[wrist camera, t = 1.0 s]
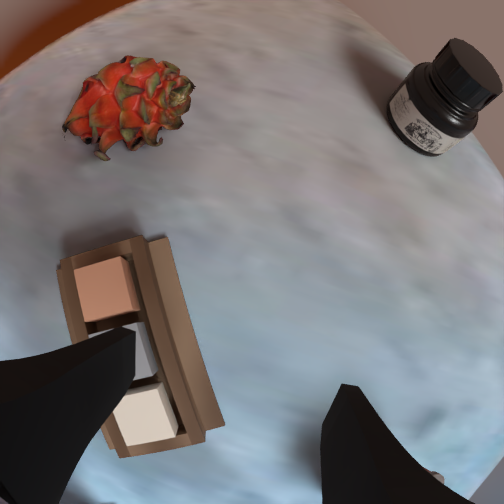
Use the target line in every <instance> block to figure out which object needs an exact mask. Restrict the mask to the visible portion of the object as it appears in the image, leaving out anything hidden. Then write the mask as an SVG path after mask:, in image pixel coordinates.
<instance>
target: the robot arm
mask: <svg viewBox="0 0 504 504" xmlns="http://www.w3.org/2000/svg"><path fill="white" fill-rule="evenodd" d="M135 376H136V331H133V330H131V329H128V328H125V327H122V326H120V327H117V328H114V329H112V330H109V331H106V332H104V333H101V334H99V335H96V336H94V337H91V338H89V339H86V340H84V341H81V342H78V343H76V344H73V345H70V346H67V347H64V348H61V349H58V350H55V351H52V352H48V353H44V354H40V355H36V356H32V357H27V358H21V359H14V360H5V361H0V504H59V501H60V499H61V497H62V494H63V492H64V490H65V488H66V485H67V483H68V481H69V479H70V477H71V475H72V473H73V471H74V469H75V467H76V465H77V463H78V462H79V460H80V458H81V456H82V454H83V453H84V451H85V449H86V447H87V446H88V444H89V443H90V441H91V440H92V438H93V437H94V435H95V434H96V433H97V431H98V430H99V429H100V428H101V426H102V425H103V424H104V422H105V421H106V420H107V418H108V417H109V416H110V414H111V413H112V412H113V411H114V409H115V408H116V407H117V405H118V404H119V403H120V401H121V400H122V399H123V397H124V396H125V394H126V392H127V390H128V389H129V387H130V385H131V383H132V381H133V379H134V377H135ZM320 455H321V476H322V504H475V503H473V502H471V501H469V500H467V499H465V498H464V497H462V496H460V495H459V494H457V493H456V492H454V491H452V490H451V489H450V488H448V487H447V486H445V485H444V484H443V483H441V482H440V481H439V480H437V479H436V478H435V477H434V476H432V475H431V474H430V473H429V472H428V471H427V470H425V469H424V468H423V467H422V466H421V465H420V464H419V463H418V462H417V461H416V460H415V459H414V458H413V457H412V456H411V455H410V454H409V453H408V452H407V451H406V450H405V448H404V447H403V446H402V445H401V444H400V443H399V441H398V440H397V439H396V438H395V437H394V435H393V434H392V433H391V431H390V430H389V429H388V428H387V426H386V425H385V424H384V422H383V421H382V419H381V418H380V417H379V415H378V414H377V412H376V411H375V410H374V408H373V407H372V405H371V404H370V402H369V401H368V399H367V398H366V396H365V395H364V394H363V392H362V391H361V389H360V388H359V387H358V386H353V385H347V384H341V386H340V388H339V390H338V393H337V395H336V397H335V399H334V401H333V403H332V405H331V407H330V409H329V412H328V414H327V416H326V418H325V420H324V422H323V424H322V433H321V445H320Z"/></svg>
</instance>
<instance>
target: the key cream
mask: <svg viewBox="0 0 504 504" xmlns="http://www.w3.org/2000/svg"><path fill="white" fill-rule="evenodd" d="M113 413H114V416H115V418H116V421H117V424H118V426H119V429H120V431H121V433H122V436H123V438H124V441H125V443H126V445H127V446H131V445H137V444H143V443H149V442H154V441H159V440H164V439H169V438H174V437H176V433H177V430H178V423H177V420H176V418H175V415H174V413H173V410H172V407H171V404H170V402H169V399H168V396H167V393H166V391H165V388H164V385H163V382H159V383H155V384H150V385H146V386H142V387H137V388H133V389H128V390H127V392H126V394H125V396H124V397H123V399H122V400H121V401H120V403H119V404H118V405H117V407H116V408H115V409H114V411H113Z"/></svg>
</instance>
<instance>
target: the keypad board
mask: <svg viewBox="0 0 504 504" xmlns="http://www.w3.org/2000/svg"><path fill="white" fill-rule="evenodd" d="M119 256H121V257H122V258H123V259H125V260H126V261H128V262H129V266H130V270H131V274H132V278H133V283H134V287H135V291H136V295H137V298H138V302H139V306H140V310H138V311H135V312H131V313H127V314H124V315H120V316H116V317H112V318H108V319H105V320H101V321H97V322H85V321H84V317H83V313H82V308H81V304H80V299H79V295H78V290H77V285H76V280H75V275H74V270H75V269H78V268H82V267H85V266H88V265H92V264H95V263H98V262H102V261H105V260H108V259H112V258H115V257H119ZM60 264H61V269H59V270H56V272H57V277H58V283H59V288H60V293H61V298H62V303H63V308H64V312H65V317H66V321H67V325H68V329H69V333H70V337H71V341H72V344H76V343H78V342H81V341H84V340H86V339H89V336H88V335H90V334H94V333H98V332H102V331H106V330H110V329H114V328H117V327H120V326H125V325H129V324H133V323H137V322H144V324H145V328H146V331H147V335H148V338H149V341H150V345H151V348H152V351H153V354H154V358H155V361H156V364H157V367H158V371H157V372H156V373H155V374H154V375H153V376H150V377H146V378H141V379H137V380H133V381H132V383H131V385H130V387H129V389H133V388H137V387H142V386H146V385H150V384H155V383H159V382H163V385H164V388H165V391H166V393H167V396H168V399H169V402H170V404H171V407H172V410H173V413H174V415H175V418H176V420H177V423H178V430H177V433H176V437H174V438H169V439H164V440H159V441H154V442H149V443H143V444H137V445H131V446H127V445H126V443H125V441H124V438H123V436H122V433H121V431H120V429H119V426H118V424H117V421H116V418H115V416H114V413H113V412H112V413H111V414H110V416H109V417H108V418H107V420H106V421H105V422H104V424H103V425H102V426H101V430H102V432H103V435H104V437H105V440H106V442H107V444H108V447H109V449H115V450H116V452H117V454H118V456H119V458H125V457H132V456H138V455H145V454H150V453H156V452H161V451H166V450H171V449H176V448H181V447H185V446H190V445H194V444H198V443H203V442H205V435H206V431H207V430H211V429H215V428H218V427H222V426H225V422H224V419H223V417H222V414H221V411H220V408H219V406H218V403H217V400H216V397H215V394H214V391H213V388H212V386H211V383H210V380H209V377H208V374H207V371H206V368H205V365H204V361H203V358H202V355H201V352H200V349H199V346H198V343H197V339H196V336H195V333H194V330H193V326H192V323H191V320H190V316H189V313H188V310H187V306H186V303H185V299H184V296H183V292H182V288H181V285H180V281H179V278H178V274H177V270H176V266H175V263H174V259H173V255H172V251H171V247H170V243H169V239H168V237H166V238H163V239H159V240H156V241H152V242H149V243H148V242H147V241H146V239H145V238H144V237H143V236H142V235H140V236H137V237H133V238H130V239H127V240H123V241H120V242H117V243H113V244H110V245H107V246H103V247H100V248H97V249H93V250H90V251H87V252H84V253H81V254H77V255H74V256H71V257H68V258H65V259H62V260H60Z"/></svg>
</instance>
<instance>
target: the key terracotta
mask: <svg viewBox="0 0 504 504" xmlns="http://www.w3.org/2000/svg"><path fill="white" fill-rule="evenodd" d="M74 275H75V280H76V285H77V290H78V295H79V299H80V304H81V308H82V313H83V317H84V321H85V322H97V321H101V320H105V319H108V318H112V317H116V316H120V315H124V314H127V313H131V312H135V311H138V310H140V306H139V302H138V298H137V295H136V291H135V287H134V283H133V278H132V274H131V270H130V266H129V262H128V261H126V260H125V259H123V258H122V257H121V256H119V257H115V258H112V259H108V260H105V261H102V262H98V263H95V264H92V265H88V266H85V267H82V268H78V269H75V270H74Z"/></svg>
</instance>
